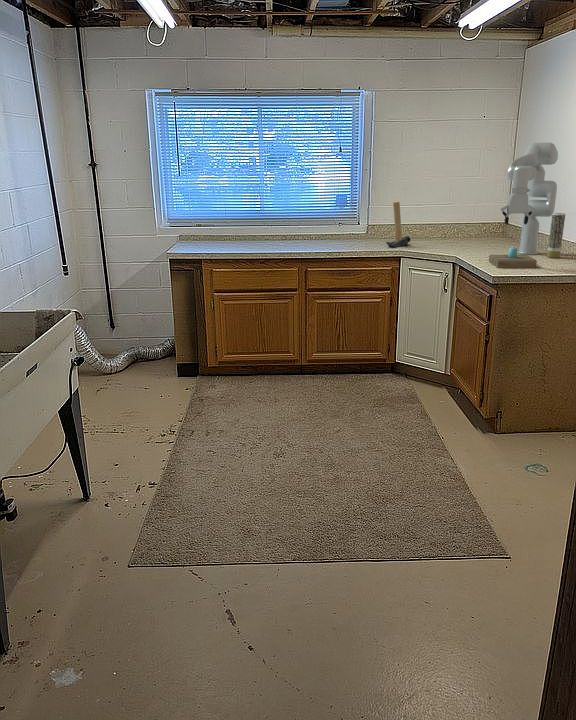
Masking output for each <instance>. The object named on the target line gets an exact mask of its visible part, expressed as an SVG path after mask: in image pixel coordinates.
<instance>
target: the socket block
mask: <svg viewBox="0 0 576 720" xmlns="http://www.w3.org/2000/svg"><path fill="white" fill-rule="evenodd" d="M488 255H489V256H488V262H489V264H491V265H493V266H494V267H495V266H496V267H495V268H497V269H511V268H512V269H536V268H537V262H538V260H537V259H535V258H533V257H531V256H530V255H527V254H517V258H508V254H488Z"/></svg>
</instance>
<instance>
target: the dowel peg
mask: <svg viewBox="0 0 576 720" xmlns="http://www.w3.org/2000/svg"><path fill="white" fill-rule="evenodd" d="M518 249H519V248H517V247H509V248H508V254H507V255H508V258H517V255H518V253H517V251H518Z"/></svg>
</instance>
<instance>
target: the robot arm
mask: <svg viewBox="0 0 576 720" xmlns="http://www.w3.org/2000/svg"><path fill="white" fill-rule="evenodd" d="M558 159H559V151H558V150H557V147H556V145H555V144H554V143H552V142H533V143H531V144H529V146H528V147H527V149H526V151H525V152H524V155H522V156H520V157H517V158H516V159H514V160H512V162H511V163H510V165H509V167H508V169H507V171H506V177H507V179H508V180H509V181H512V187H511V188H512V189H511V193H509V196H508V200H507V204H506V205H505V206H502V207H501V208H500V211H501V213H502V215H503V216H504V224H505V225H507V226H508V225H509V220H510V217H509V216H510V215H511V214H522V226H521V227H522V228H521V236H520V243H519V250H517V254H518V255H520V254H526V255H528V256H530V255H532V256H534V255H538V254H540V253H539V251H538V249H537V248H538V238H539V232H540V231H539V230H540V222H539V220H538V219H537V217H544V218H545V217H549V218H550V217H552V214H553V213H554V212H555V208H556V200H557V193H558V184H557V182H555V181H553V180H545V176H546V170H545V168H544V167H543V165H549V166H550V165H555V164H556V163H557V161H558ZM529 198H546V199H529ZM505 210H506V212H505Z"/></svg>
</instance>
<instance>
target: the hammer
mask: <svg viewBox="0 0 576 720" xmlns="http://www.w3.org/2000/svg"><path fill="white" fill-rule="evenodd" d="M392 204H393V207H392V208H393V219H394V220H393V222H394V232H395V233H394V235H395V239H394V240H393V241H391V242H389V241H386V242H385V243H386V245H387V246H388V247H390V248H400V247H404V246H407V245H408V244H409V243H410V241H411V238H410V236H409V235H408V236H405V237H403V235H402V232H403V231H402V223H401V220H402V219H401V208H400V207H401V205H400V204H401V203H400V201H399V200H398V201H397V200H396V201H393V202H392Z"/></svg>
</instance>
